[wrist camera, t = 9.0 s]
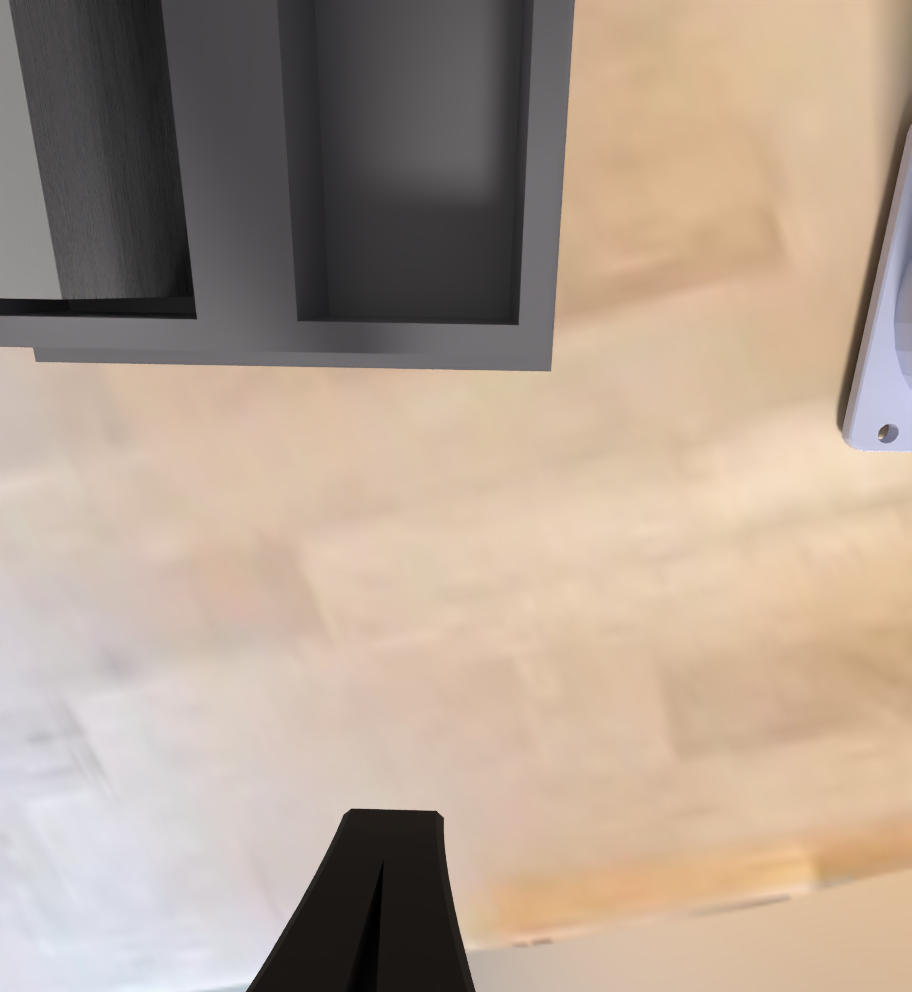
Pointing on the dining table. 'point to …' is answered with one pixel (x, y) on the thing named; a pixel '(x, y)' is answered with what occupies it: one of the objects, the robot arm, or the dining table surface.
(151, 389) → the dining table surface
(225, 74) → the box
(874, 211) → the dining table surface
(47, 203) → the grey metallic block
